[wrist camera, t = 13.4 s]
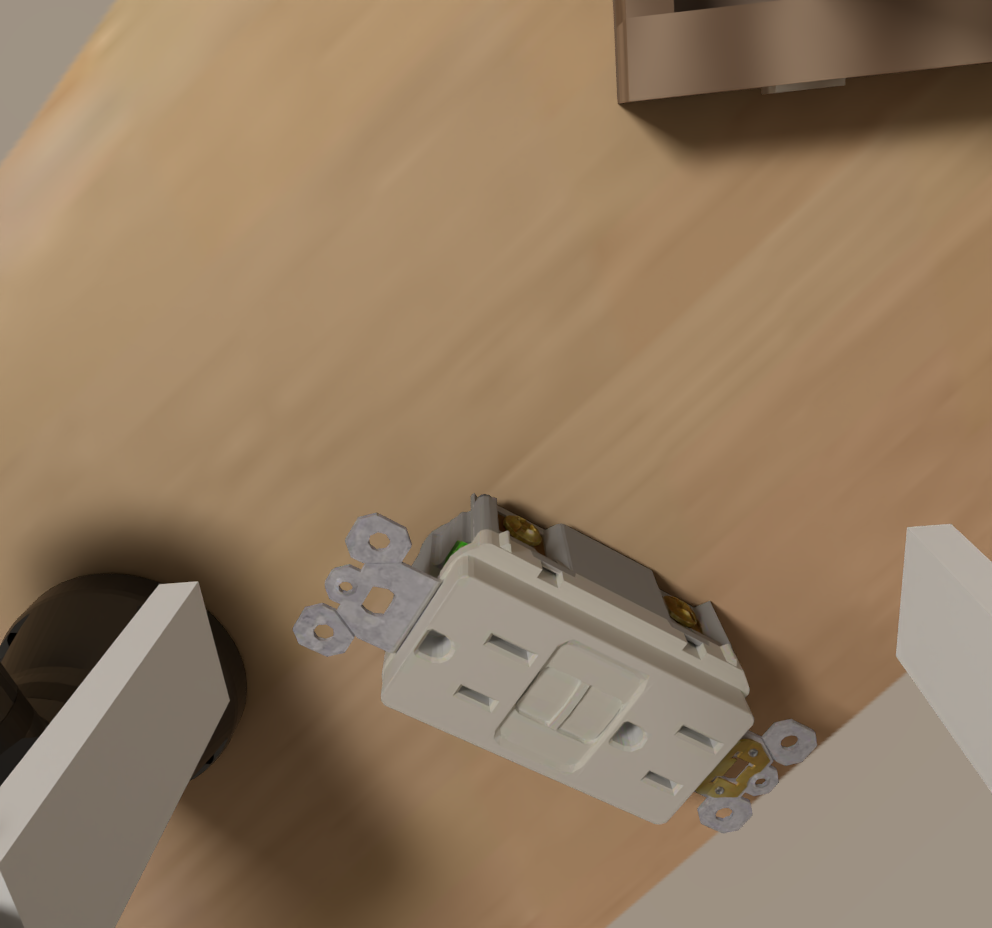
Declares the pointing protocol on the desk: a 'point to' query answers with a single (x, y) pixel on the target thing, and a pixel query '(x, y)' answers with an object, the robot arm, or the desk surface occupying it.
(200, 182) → the desk surface
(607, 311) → the desk surface
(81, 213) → the desk surface
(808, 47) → the socket panel
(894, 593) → the desk surface
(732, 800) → the electrical outlet
